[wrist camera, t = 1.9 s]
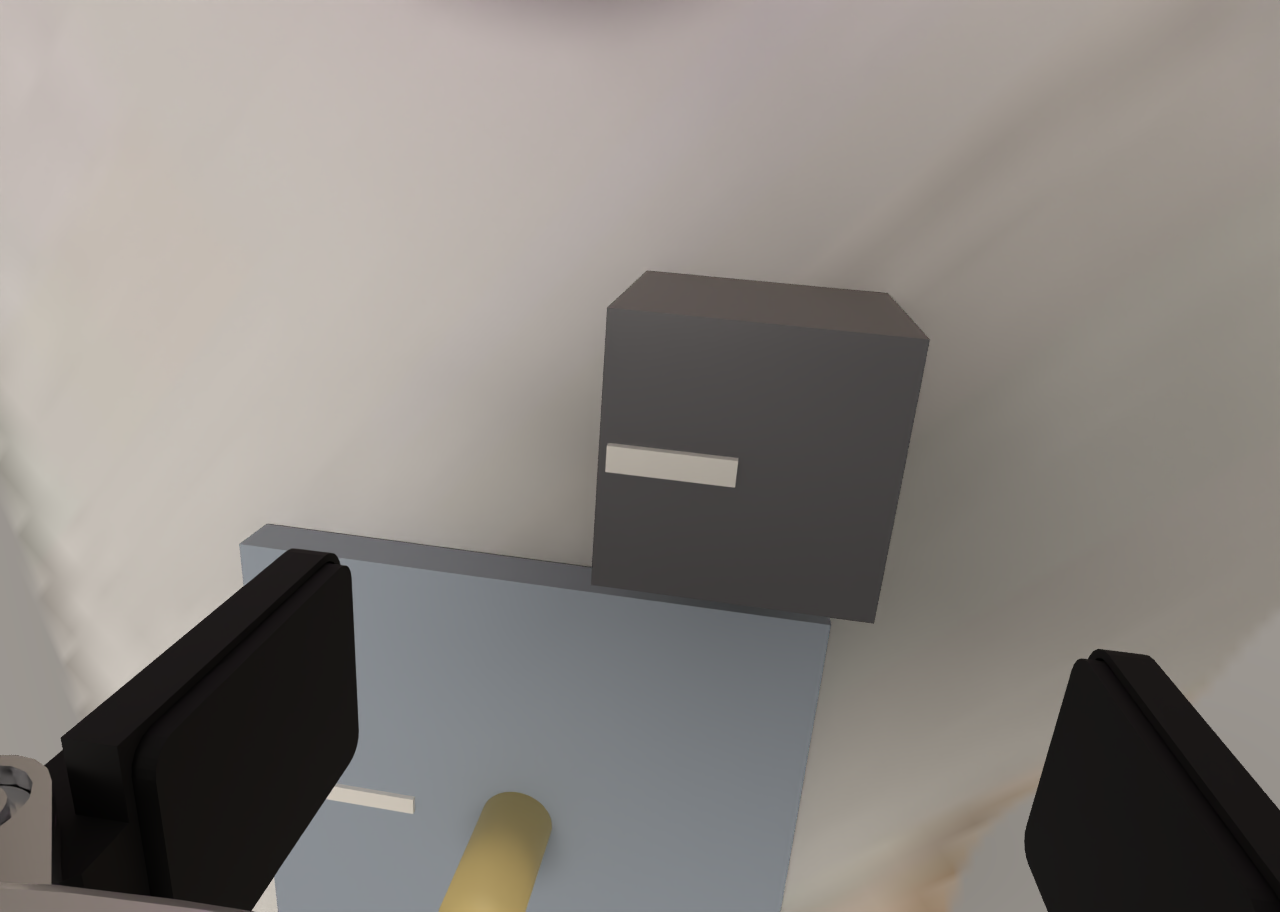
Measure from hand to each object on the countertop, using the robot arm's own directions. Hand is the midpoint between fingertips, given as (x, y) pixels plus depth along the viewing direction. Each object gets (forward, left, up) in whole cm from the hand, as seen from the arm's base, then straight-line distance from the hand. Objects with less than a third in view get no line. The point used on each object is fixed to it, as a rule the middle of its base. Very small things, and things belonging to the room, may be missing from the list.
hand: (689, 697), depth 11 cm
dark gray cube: (-1, 0, -14) cm, 14 cm away
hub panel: (+5, +15, -14) cm, 21 cm away
